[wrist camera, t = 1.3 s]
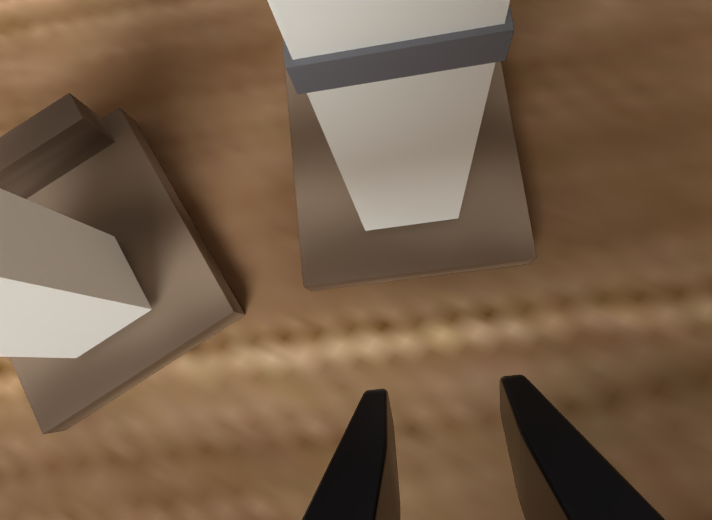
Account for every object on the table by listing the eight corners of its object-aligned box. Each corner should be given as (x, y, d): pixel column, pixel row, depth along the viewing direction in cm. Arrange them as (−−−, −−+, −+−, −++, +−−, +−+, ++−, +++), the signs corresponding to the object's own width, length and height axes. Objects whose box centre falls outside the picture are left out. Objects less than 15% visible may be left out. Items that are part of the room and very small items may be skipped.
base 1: (245, 314, 25) (211, 305, 21) (65, 430, 25) (-2, 442, 21) (135, 121, 27) (88, 81, 23) (-26, 225, 27) (-101, 201, 23)
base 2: (529, 263, 23) (550, 243, 19) (310, 291, 24) (289, 276, 20) (487, 28, 26) (498, -32, 22) (290, 61, 27) (268, 9, 23)
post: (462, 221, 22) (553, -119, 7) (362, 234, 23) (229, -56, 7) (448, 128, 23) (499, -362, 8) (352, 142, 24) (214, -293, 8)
